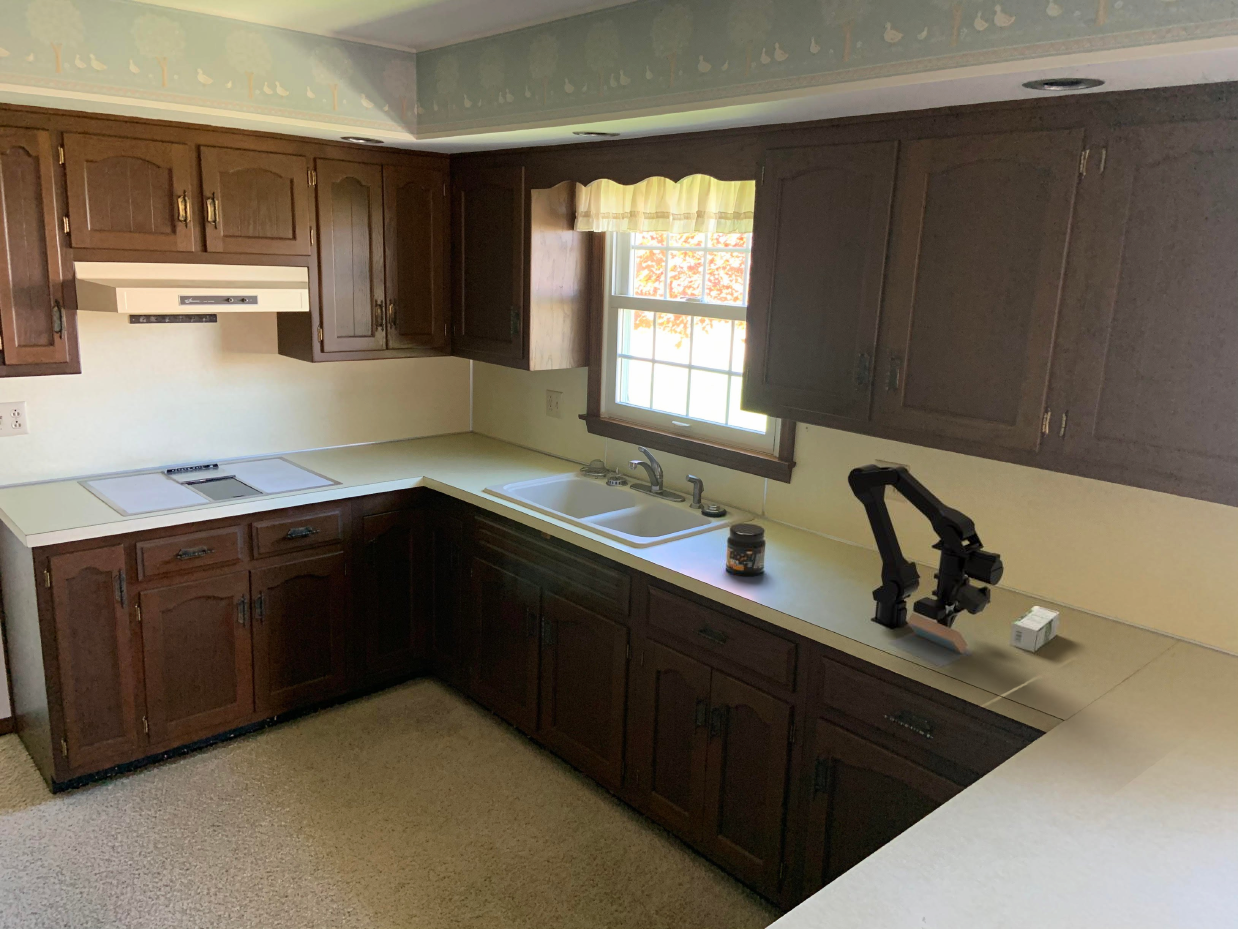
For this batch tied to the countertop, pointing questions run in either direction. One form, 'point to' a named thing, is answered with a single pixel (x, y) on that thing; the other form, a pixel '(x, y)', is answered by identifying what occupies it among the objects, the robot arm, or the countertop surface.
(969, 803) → the countertop surface
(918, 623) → the tile
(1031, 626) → the syrup box
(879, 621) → the robot arm
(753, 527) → the supplement container
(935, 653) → the mat
